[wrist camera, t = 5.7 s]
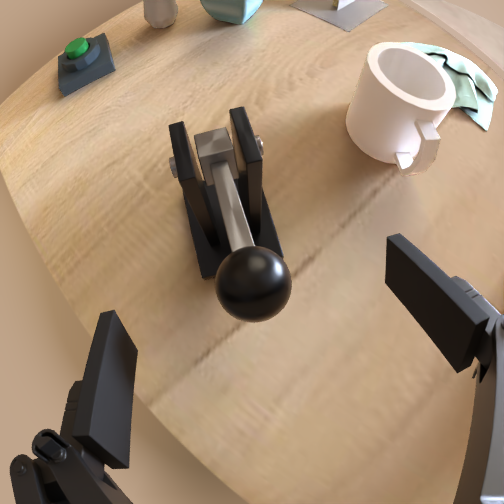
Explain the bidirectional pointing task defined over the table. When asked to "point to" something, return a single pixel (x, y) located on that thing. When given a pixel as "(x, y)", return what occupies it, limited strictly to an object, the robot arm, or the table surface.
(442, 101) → the mug
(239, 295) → the lever
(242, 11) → the flower pot
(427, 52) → the cloth
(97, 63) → the control block
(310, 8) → the platform
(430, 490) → the table surface
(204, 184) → the switch bracket
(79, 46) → the button
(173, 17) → the salt shaker
